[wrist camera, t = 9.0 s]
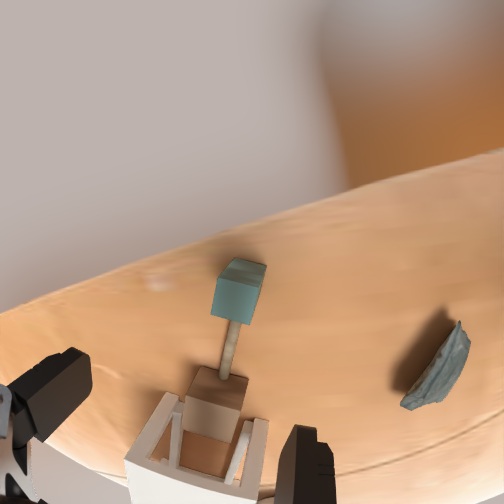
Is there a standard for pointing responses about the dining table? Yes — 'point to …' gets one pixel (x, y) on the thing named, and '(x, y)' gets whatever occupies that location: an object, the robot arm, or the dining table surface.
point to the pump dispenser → (266, 501)
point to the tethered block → (224, 356)
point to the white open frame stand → (187, 480)
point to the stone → (440, 371)
